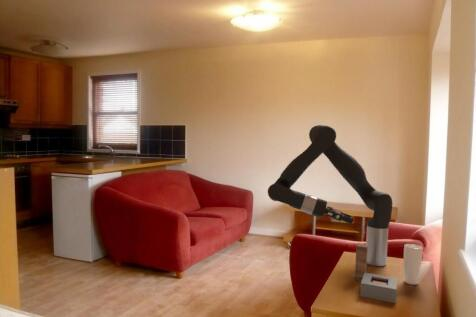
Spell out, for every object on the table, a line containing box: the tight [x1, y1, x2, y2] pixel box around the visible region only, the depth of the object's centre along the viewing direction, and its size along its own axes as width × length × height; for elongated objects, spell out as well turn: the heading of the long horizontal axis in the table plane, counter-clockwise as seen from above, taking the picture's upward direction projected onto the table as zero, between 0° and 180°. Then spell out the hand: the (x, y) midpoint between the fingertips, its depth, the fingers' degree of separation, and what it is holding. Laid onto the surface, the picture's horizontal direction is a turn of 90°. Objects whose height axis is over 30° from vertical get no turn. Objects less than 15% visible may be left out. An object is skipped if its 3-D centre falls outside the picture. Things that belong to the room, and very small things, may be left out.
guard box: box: [359, 272, 398, 304], centre depth 143 cm, size 12×12×5 cm
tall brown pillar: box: [354, 243, 368, 281], centre depth 157 cm, size 4×4×14 cm
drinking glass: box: [403, 243, 424, 286], centre depth 155 cm, size 7×7×15 cm
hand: (351, 219), depth 158 cm, fingers open, 8 cm apart
